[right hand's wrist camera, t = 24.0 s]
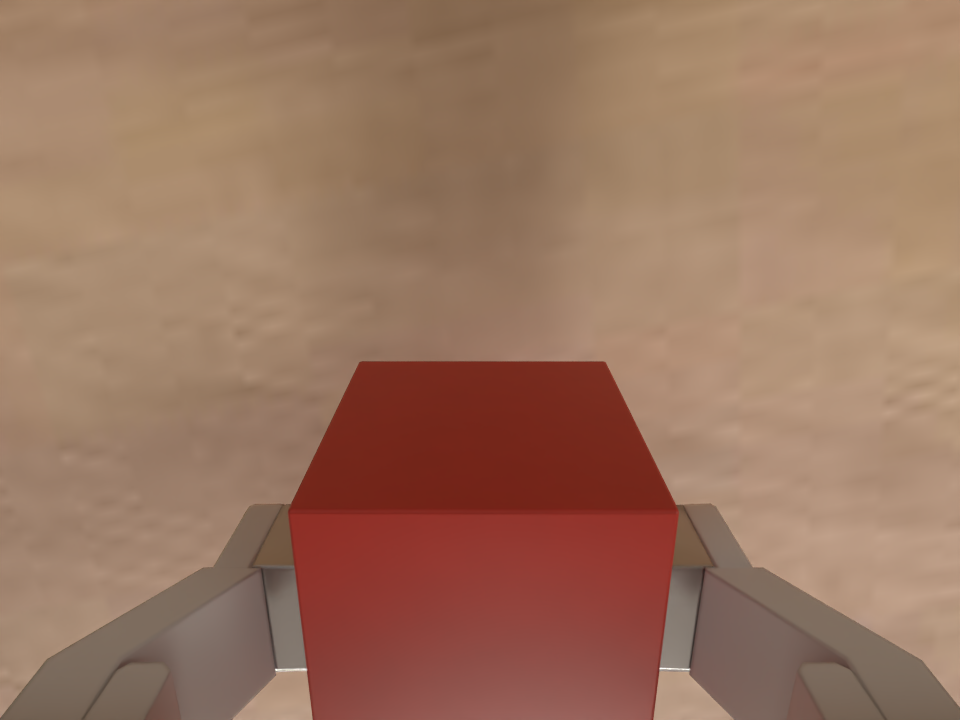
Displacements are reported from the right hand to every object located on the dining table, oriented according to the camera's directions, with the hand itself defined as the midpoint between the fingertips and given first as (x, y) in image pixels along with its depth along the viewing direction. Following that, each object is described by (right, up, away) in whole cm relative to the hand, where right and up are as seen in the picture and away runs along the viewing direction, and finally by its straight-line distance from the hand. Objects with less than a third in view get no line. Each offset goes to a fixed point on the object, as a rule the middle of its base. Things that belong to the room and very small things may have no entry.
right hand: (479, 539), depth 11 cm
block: (0, +1, +2) cm, 2 cm away
